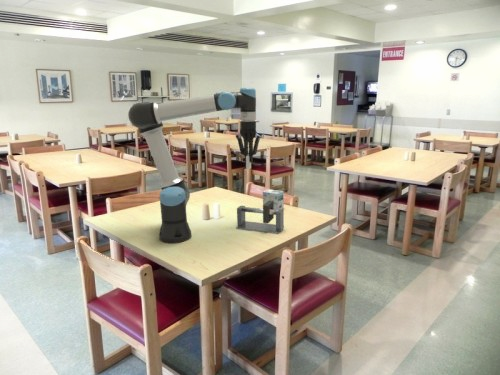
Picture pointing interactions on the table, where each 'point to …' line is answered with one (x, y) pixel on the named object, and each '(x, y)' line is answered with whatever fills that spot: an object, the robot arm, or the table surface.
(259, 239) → the table surface
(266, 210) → the ring
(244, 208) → the pipe rig
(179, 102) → the robot arm
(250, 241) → the table surface
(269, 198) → the light bulb box
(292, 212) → the table surface
